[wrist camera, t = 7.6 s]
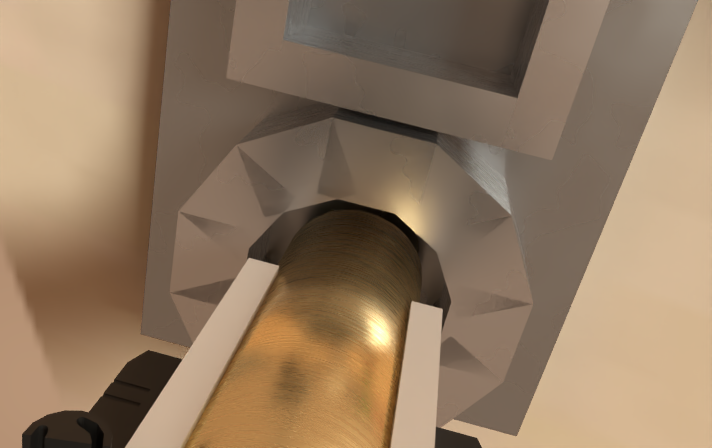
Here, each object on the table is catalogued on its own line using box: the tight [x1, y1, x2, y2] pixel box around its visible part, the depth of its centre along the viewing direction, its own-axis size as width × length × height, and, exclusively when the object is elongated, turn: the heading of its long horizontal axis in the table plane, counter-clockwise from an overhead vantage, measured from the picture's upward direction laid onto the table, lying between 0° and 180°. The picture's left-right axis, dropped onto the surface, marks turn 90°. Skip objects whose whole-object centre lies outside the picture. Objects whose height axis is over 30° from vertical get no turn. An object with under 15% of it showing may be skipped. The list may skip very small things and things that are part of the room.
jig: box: [141, 0, 698, 436], centre depth 18 cm, size 18×13×5 cm
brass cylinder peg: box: [184, 210, 422, 448], centre depth 15 cm, size 4×4×10 cm
